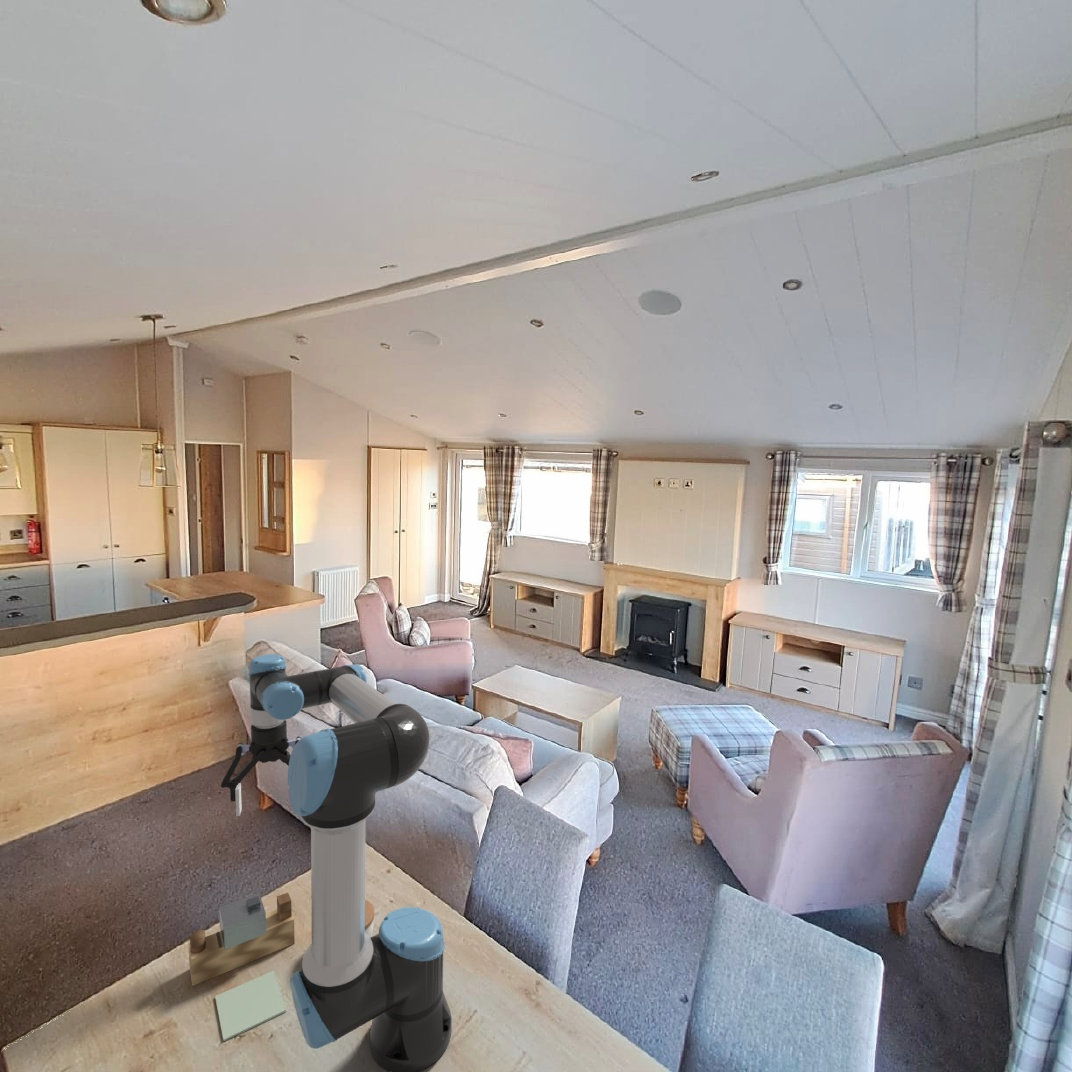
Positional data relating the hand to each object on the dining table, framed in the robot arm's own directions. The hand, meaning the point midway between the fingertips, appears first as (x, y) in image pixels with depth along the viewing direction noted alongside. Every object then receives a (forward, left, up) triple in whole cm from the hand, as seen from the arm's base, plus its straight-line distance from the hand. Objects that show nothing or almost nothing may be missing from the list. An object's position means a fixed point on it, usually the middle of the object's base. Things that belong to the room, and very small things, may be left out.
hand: (270, 808), depth 139 cm
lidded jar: (-20, -12, -27) cm, 35 cm away
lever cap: (-10, +8, -20) cm, 24 cm away
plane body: (-10, +8, -26) cm, 29 cm away
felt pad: (-24, +9, -26) cm, 37 cm away
